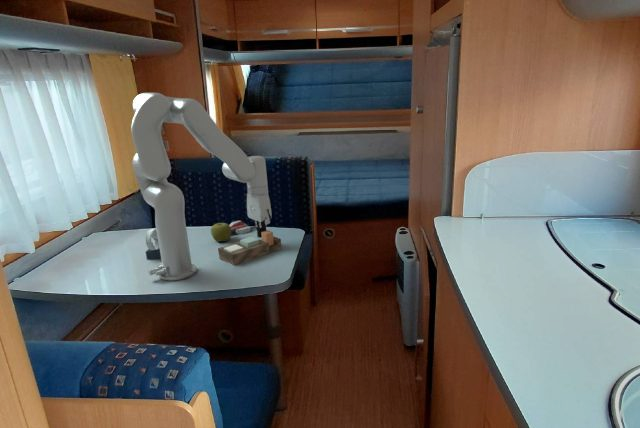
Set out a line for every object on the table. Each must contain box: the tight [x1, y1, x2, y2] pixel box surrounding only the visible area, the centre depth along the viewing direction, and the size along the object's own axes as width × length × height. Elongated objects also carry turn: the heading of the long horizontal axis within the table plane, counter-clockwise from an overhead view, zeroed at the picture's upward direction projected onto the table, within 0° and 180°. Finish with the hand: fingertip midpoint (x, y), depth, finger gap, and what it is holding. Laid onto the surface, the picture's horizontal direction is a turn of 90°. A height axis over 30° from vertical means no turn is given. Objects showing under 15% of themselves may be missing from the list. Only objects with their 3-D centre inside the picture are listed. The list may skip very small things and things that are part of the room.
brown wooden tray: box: [217, 235, 283, 266], centre depth 174 cm, size 21×10×4 cm, turn 131°
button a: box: [224, 244, 243, 253], centre depth 170 cm, size 5×5×3 cm
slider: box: [261, 229, 274, 246], centre depth 176 cm, size 3×3×5 cm
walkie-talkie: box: [228, 220, 257, 236], centre depth 201 cm, size 9×4×20 cm
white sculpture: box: [145, 228, 161, 260], centre depth 176 cm, size 6×8×11 cm
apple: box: [210, 222, 232, 242], centre depth 189 cm, size 8×8×7 cm
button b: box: [239, 236, 260, 247], centre depth 174 cm, size 5×5×3 cm
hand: (262, 236), depth 179 cm, fingers closed
